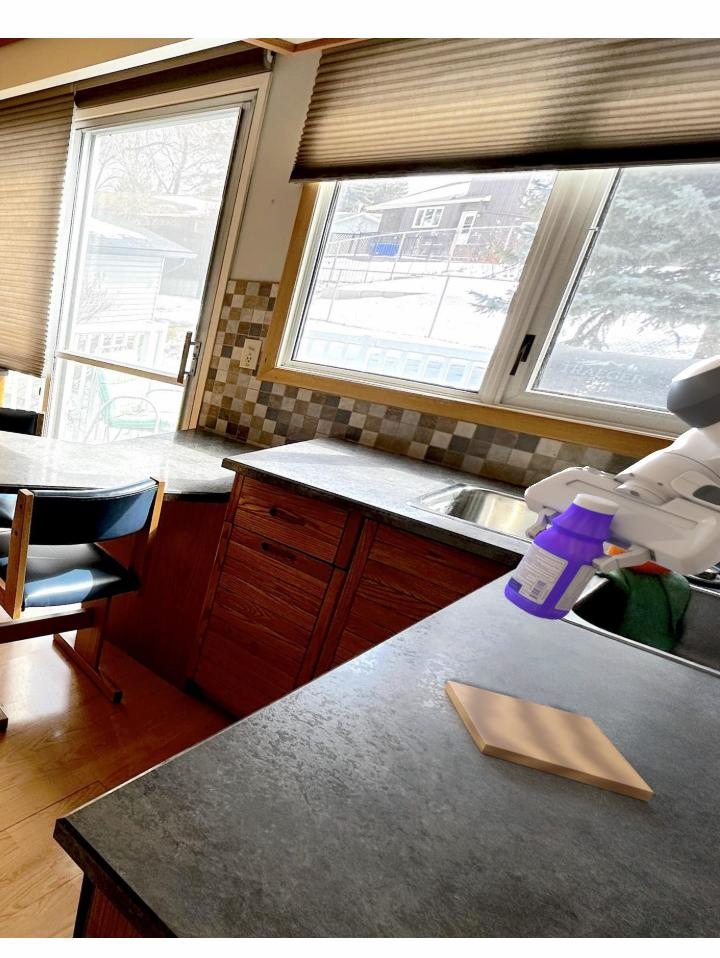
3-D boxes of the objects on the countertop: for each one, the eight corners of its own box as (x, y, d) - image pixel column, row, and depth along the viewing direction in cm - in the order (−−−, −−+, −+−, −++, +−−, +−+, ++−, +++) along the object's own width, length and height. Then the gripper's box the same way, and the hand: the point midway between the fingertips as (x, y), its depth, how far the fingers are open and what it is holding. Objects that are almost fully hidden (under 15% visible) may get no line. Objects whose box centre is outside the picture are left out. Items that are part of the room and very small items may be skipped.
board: (584, 726, 84) (589, 717, 84) (648, 802, 72) (654, 792, 72) (444, 688, 90) (448, 680, 89) (481, 753, 78) (486, 744, 77)
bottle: (573, 626, 84) (648, 513, 77) (531, 620, 84) (601, 506, 77) (530, 598, 91) (595, 491, 84) (491, 591, 91) (552, 485, 84)
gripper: (573, 448, 89) (484, 503, 92) (764, 508, 71) (647, 576, 73) (581, 477, 92) (495, 531, 94) (768, 543, 73) (655, 608, 76)
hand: (563, 551), depth 84 cm, fingers closed on bottle, 7 cm apart
